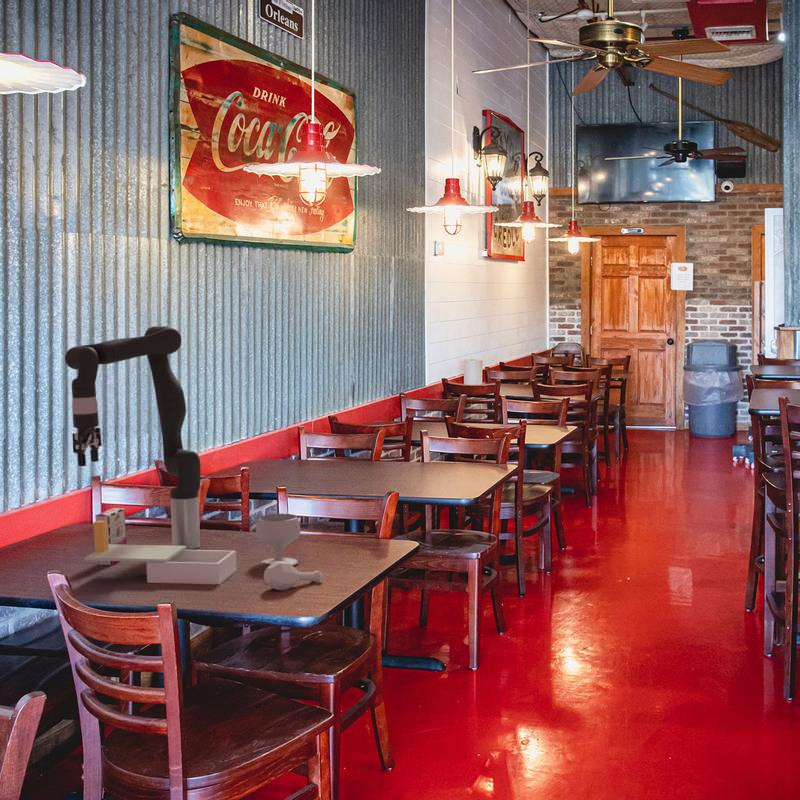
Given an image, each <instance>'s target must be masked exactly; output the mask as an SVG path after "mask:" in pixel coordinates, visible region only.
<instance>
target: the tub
mask: <svg viewBox="0 0 800 800" xmlns="http://www.w3.org/2000/svg"><path fill="white" fill-rule="evenodd" d="M237 569H238V568H237V550H221V549H209V550H208V549H188V550H183V551H182V552H180V553H178V554H177V555H175V556H174V557H172V558H171V559H169V560H168V561H166V562H146V582H147V583H155V584H156V583H157V584H159V583H160V584H193V585H198V584H199V585H200V584H201V585H220V584H222V583H223V582H224V581H226V579H228V578H229V577H230V576H232V575H233V574H234V573H235V572H236V571H237Z"/></svg>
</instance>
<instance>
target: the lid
mask: <svg viewBox="0 0 800 800" xmlns="http://www.w3.org/2000/svg"><path fill="white" fill-rule="evenodd" d="M93 536H94V537H93V539H94V552H92V553H90V554H89V555H87V556H84V561H97V562H98V561H119V562H166V561H168V560H169V559H171V558H172V557H174V556H175V555H177V554H178V553H180V552H182V551H183V550H185V549H186V546H172V544H171V545H170V544H169V545H167V544H165V545H162V544H160V545H157V544H151V545H150V544H126V545H118V544H109V545H108V524H107V521H103V520H98V521H96V520H95V521H94V522H93Z"/></svg>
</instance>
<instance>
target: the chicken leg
mask: <svg viewBox="0 0 800 800" xmlns="http://www.w3.org/2000/svg"><path fill="white" fill-rule="evenodd" d="M323 577H324V575H323V573H322V572H321V571H319V570H315V571H312V572H311V571H310V572H306V571H305V572H301V571H299V570H297V569H296V568H295V566H292V565H291V564H289V563H287V562H284V561H274V562H273V563H272V564H269V566H267V567H266V568H265V570H264V573H263V578H264V579H263V580H264V582H265V583H266V584H267V585H268V586H269V587H270V588H271V589H274V590H276V591H287V590H288V589H290V588H291V587H293V586H294V585H296V583H299V581H311V582H314V583H319V582H321V580H322V579H323ZM286 589H287V590H286Z"/></svg>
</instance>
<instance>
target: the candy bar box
mask: <svg viewBox="0 0 800 800" xmlns="http://www.w3.org/2000/svg"><path fill="white" fill-rule="evenodd" d="M94 517H95V522H96V521H98V520H103V521H107V524H108V545H109V544H118V545H127V529H126V512H125V508H122V507H113V508H112V507H111V508H109V509H106V510H104V511H102V512H100V513H97V514H95V516H94ZM119 562H120V561H97V563H98V564H97V565H98V566H113V564H114V565H115V564H118V563H119Z"/></svg>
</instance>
